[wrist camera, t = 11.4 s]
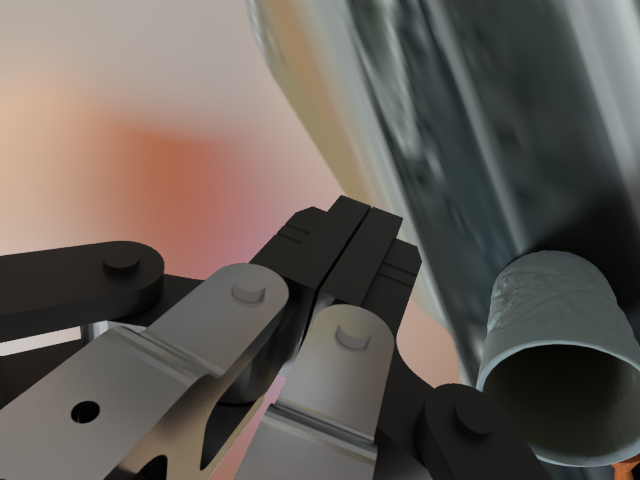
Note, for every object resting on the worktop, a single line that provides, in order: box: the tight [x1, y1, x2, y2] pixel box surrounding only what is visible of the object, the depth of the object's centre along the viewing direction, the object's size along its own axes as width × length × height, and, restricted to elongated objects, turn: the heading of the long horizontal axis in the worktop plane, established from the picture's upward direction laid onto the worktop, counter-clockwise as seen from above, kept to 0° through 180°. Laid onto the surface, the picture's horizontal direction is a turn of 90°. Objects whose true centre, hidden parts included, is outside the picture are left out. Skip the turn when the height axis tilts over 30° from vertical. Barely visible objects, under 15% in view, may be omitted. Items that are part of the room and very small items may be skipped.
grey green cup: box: [476, 250, 640, 467], centre depth 33 cm, size 10×10×12 cm
